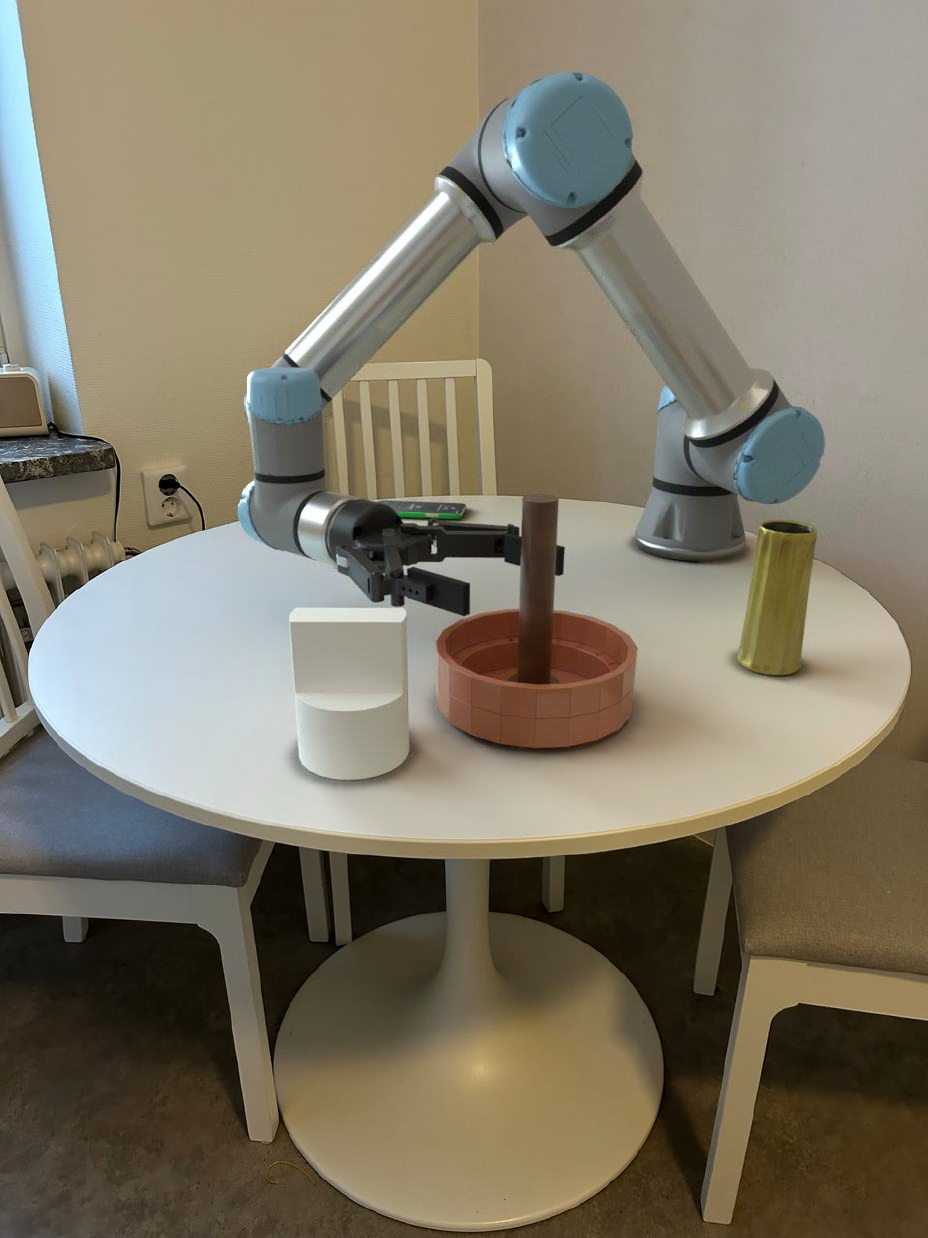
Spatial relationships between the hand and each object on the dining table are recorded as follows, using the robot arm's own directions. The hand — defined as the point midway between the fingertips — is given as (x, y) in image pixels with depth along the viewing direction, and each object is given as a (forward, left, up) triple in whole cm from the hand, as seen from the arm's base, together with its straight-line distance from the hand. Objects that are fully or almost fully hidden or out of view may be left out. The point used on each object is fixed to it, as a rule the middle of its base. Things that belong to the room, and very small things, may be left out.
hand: (517, 579), depth 77 cm
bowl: (-1, +2, -11) cm, 12 cm away
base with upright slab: (+15, +9, -12) cm, 21 cm away
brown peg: (-1, +2, -11) cm, 11 cm away
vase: (-26, -5, -12) cm, 29 cm away
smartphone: (+7, -66, -11) cm, 68 cm away
